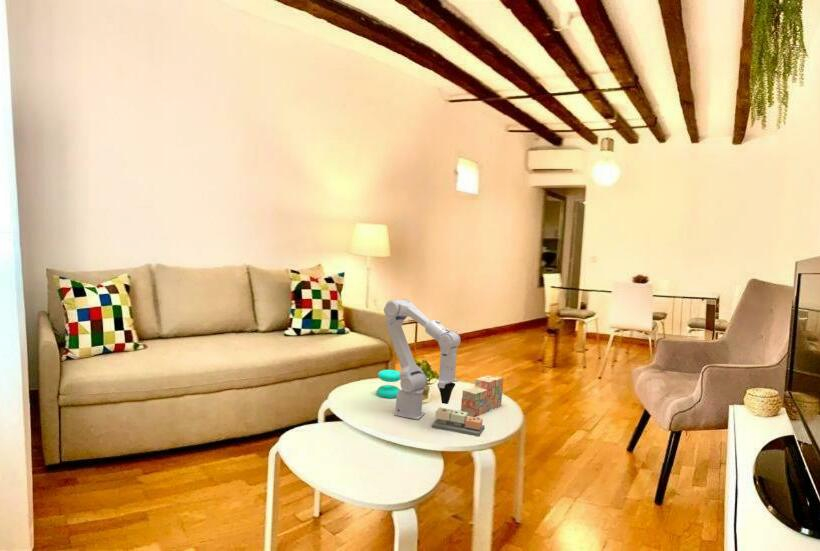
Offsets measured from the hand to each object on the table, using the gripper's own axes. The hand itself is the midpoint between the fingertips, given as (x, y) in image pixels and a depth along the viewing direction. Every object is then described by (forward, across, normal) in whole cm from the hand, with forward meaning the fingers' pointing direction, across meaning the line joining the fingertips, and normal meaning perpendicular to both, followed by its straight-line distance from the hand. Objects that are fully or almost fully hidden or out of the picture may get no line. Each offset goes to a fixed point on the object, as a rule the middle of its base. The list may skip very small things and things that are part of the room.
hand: (445, 403), depth 183 cm
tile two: (+5, 0, -5) cm, 8 cm away
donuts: (+8, +23, +31) cm, 39 cm away
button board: (+8, 0, -5) cm, 10 cm away
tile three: (+6, 0, -11) cm, 13 cm away
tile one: (+5, 0, 0) cm, 5 cm away
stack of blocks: (+8, +25, -9) cm, 28 cm away
